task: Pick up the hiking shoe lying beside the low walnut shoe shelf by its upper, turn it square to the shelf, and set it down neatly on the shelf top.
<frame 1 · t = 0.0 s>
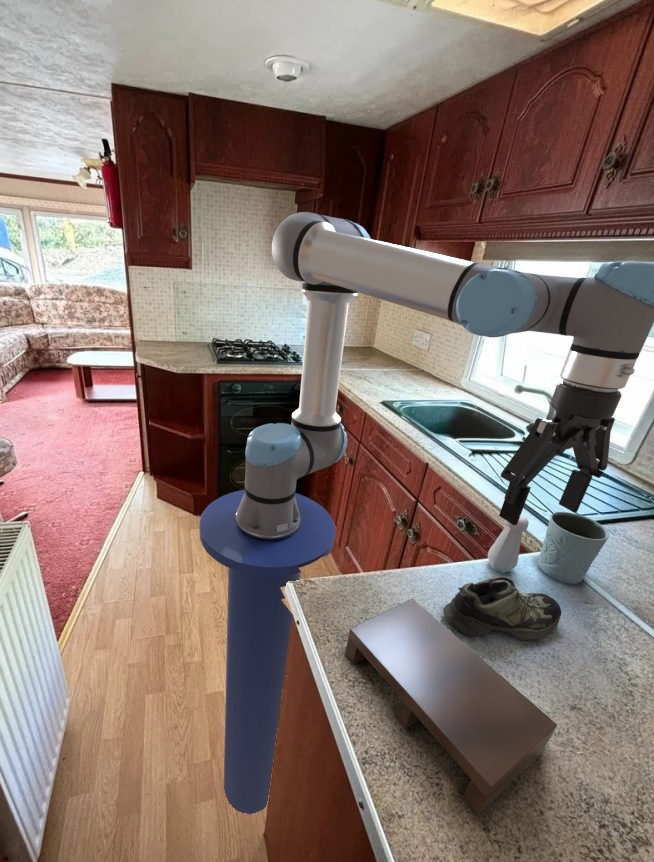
hand: (538, 514, 65), 23 cm above the countertop, tool pointing down, fingers open, 13 cm apart
salt shaker: (499, 567, 88), on the countertop
hiking shoe: (499, 623, 74), on the countertop
embossed plant pot: (558, 570, 89), on the countertop
shoe shelf: (433, 699, 59), on the countertop
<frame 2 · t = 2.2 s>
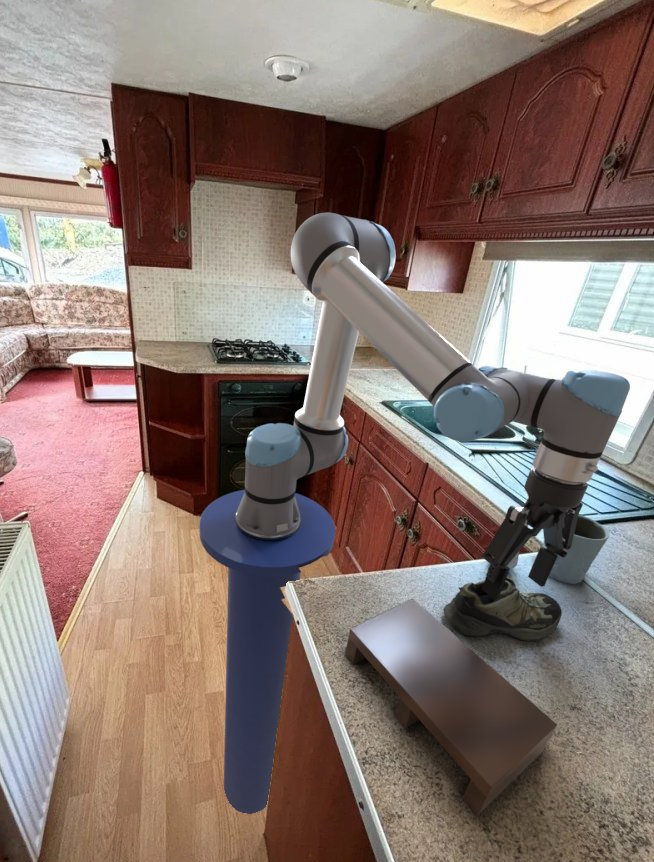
hand: (513, 587, 70), 8 cm above the countertop, tool pointing down, fingers open, 10 cm apart
hiking shoe: (500, 623, 74), on the countertop, touching gripper
everything else where it was.
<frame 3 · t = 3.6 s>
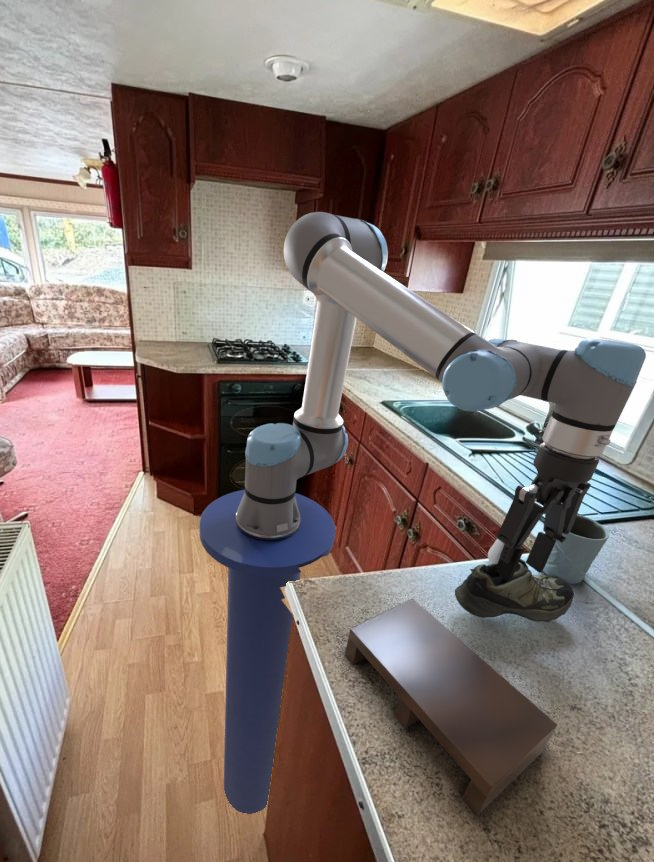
hand: (518, 570, 69), 12 cm above the countertop, tool pointing down, fingers closed on hiking shoe, 7 cm apart
hiking shoe: (511, 604, 74), point 3 cm above the countertop, touching gripper
everything else where it was.
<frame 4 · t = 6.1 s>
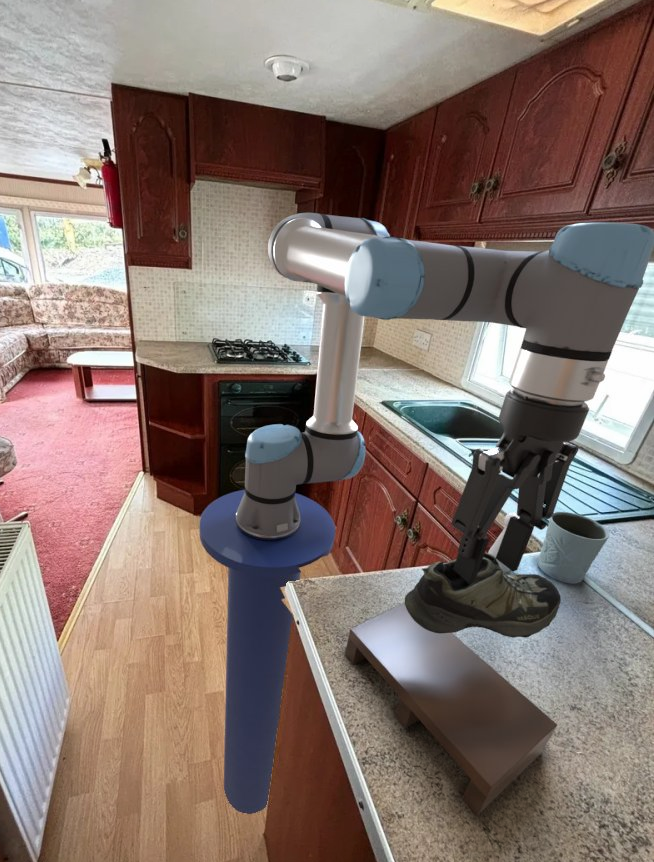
hand: (485, 569, 51), 23 cm above the countertop, tool pointing down, fingers closed on hiking shoe, 7 cm apart
hiking shoe: (479, 614, 56), point 14 cm above the countertop, touching gripper
everything else where it was.
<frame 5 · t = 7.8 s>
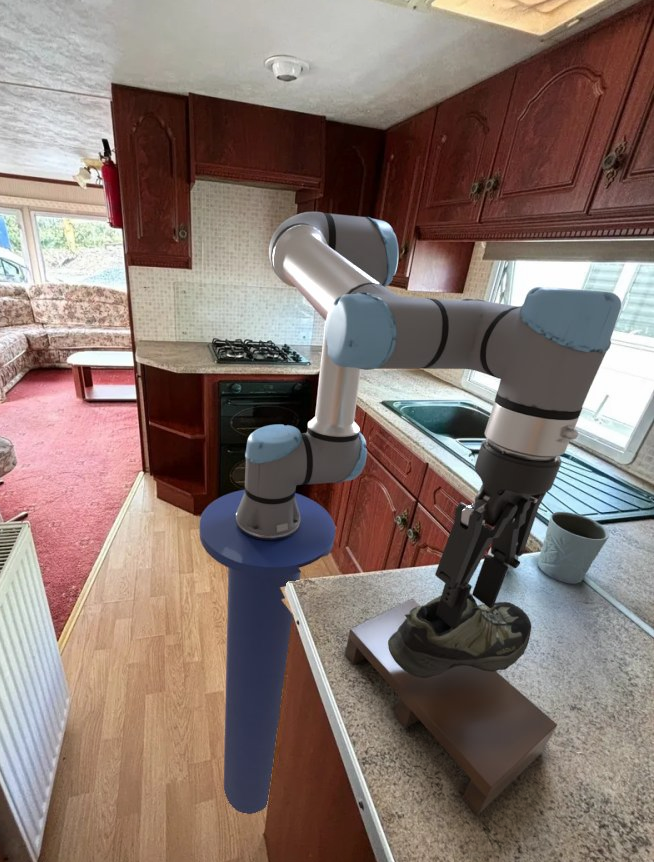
hand: (465, 609, 52), 18 cm above the countertop, tool pointing down, fingers closed on hiking shoe, 7 cm apart
hiking shoe: (459, 649, 57), point 9 cm above the countertop, touching gripper
everything else where it was.
when the fingers open (15 cm above the countertop, at t = 9.1 s): hiking shoe stays where it is, resting on shoe shelf.
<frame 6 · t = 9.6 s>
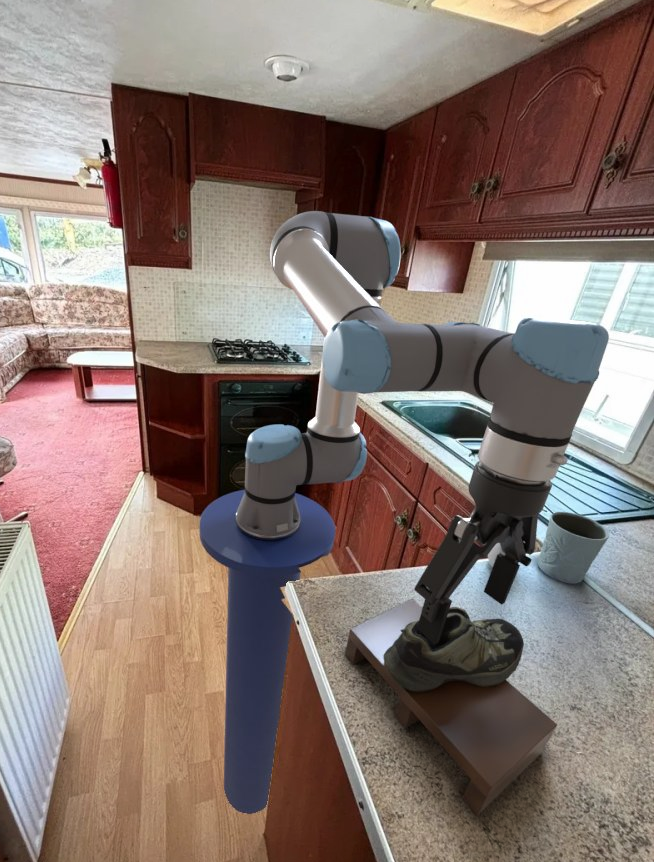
hand: (462, 615, 52), 17 cm above the countertop, tool pointing down, fingers open, 13 cm apart
hiking shoe: (452, 664, 58), point 6 cm above the countertop, touching shoe shelf
everything else where it was.
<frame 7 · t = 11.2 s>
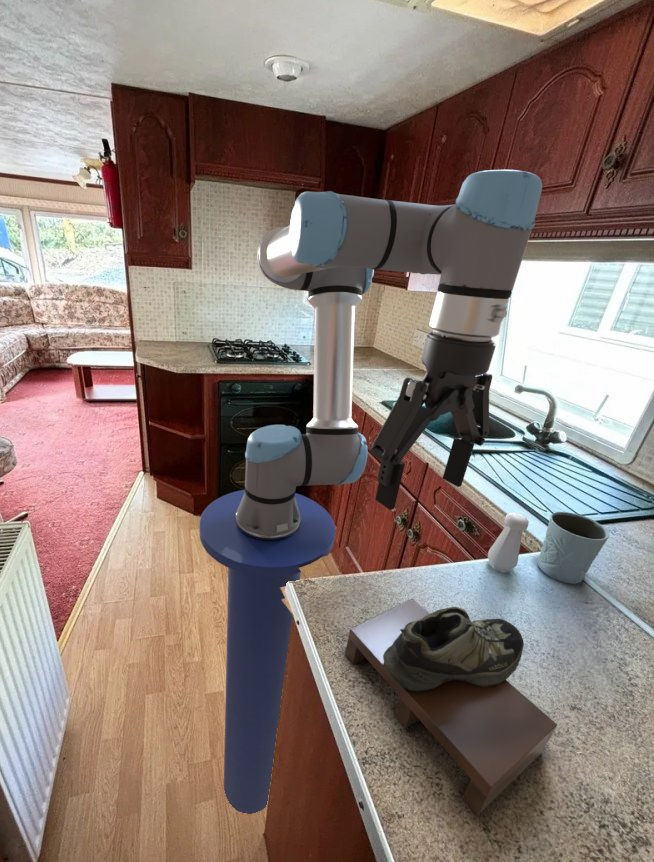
hand: (420, 492, 56), 29 cm above the countertop, tool pointing down, fingers open, 13 cm apart
nothing on the countertop moved.
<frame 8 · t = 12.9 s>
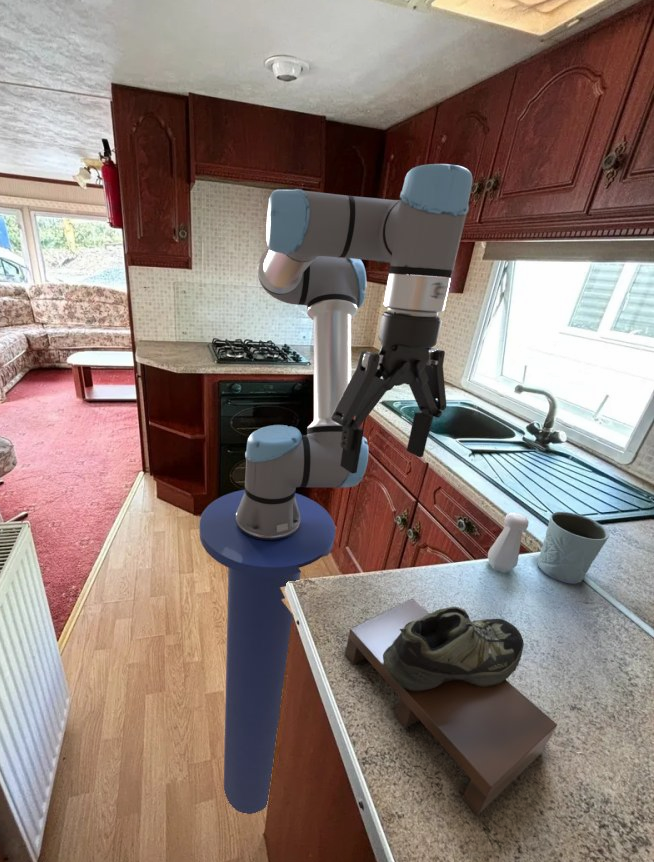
hand: (383, 461, 61), 31 cm above the countertop, tool pointing down, fingers open, 13 cm apart
nothing on the countertop moved.
at the end: hiking shoe inside the target area on the shoe shelf (2.5 cm from its centre), point 5.8 cm above the shoe shelf's base; hiking shoe tilted 0°; the gripper is holding nothing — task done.
